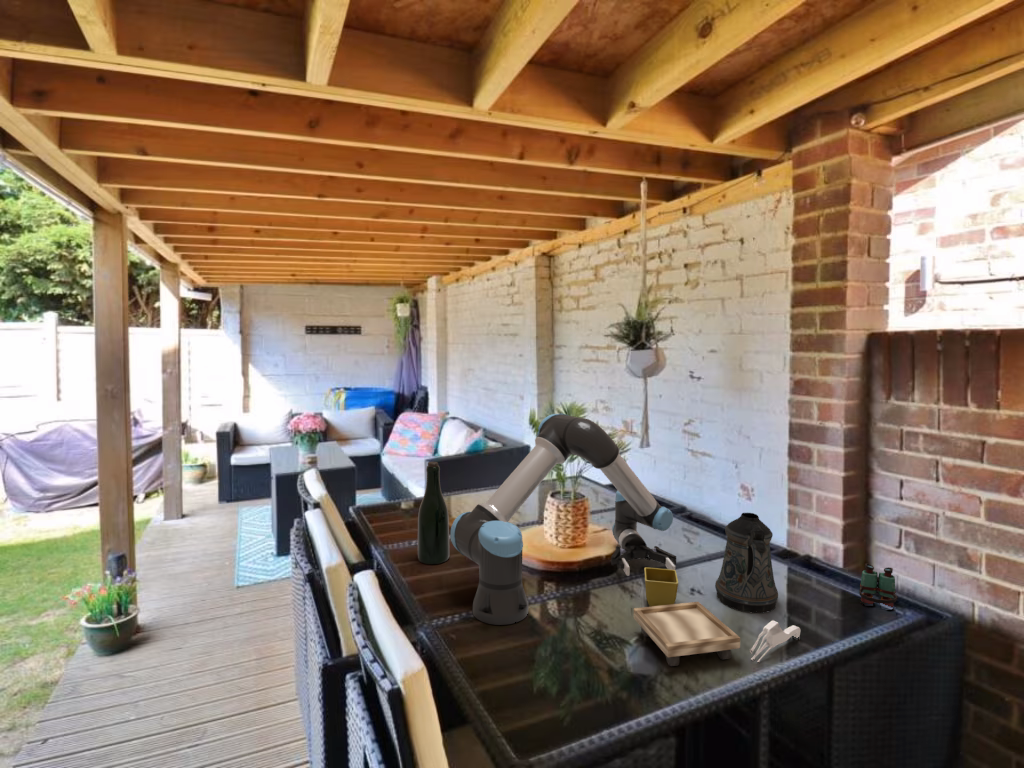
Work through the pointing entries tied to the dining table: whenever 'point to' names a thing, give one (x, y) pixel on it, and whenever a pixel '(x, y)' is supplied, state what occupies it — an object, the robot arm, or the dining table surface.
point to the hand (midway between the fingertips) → (651, 571)
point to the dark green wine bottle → (433, 521)
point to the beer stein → (747, 567)
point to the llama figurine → (774, 636)
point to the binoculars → (884, 586)
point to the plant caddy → (686, 630)
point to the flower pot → (660, 586)
